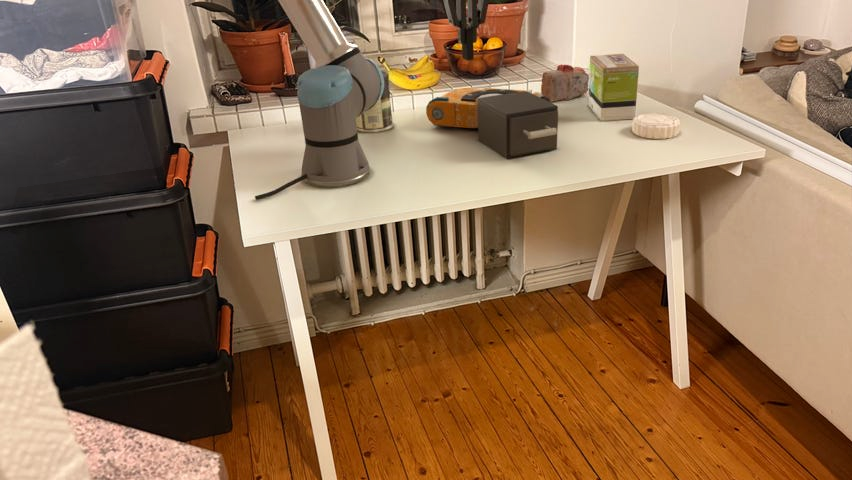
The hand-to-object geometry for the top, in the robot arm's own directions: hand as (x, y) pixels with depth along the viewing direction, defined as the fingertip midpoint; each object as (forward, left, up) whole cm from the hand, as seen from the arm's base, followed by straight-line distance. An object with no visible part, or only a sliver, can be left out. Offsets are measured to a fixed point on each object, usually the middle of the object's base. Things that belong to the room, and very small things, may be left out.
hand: (467, 58), depth 152 cm
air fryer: (+16, +7, -24) cm, 30 cm away
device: (+19, +28, -24) cm, 42 cm away
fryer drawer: (+16, +3, -23) cm, 28 cm away
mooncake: (+52, -2, -24) cm, 57 cm away
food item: (+49, +38, -24) cm, 67 cm away
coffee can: (-11, +39, -24) cm, 47 cm away
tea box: (+52, +18, -24) cm, 60 cm away
